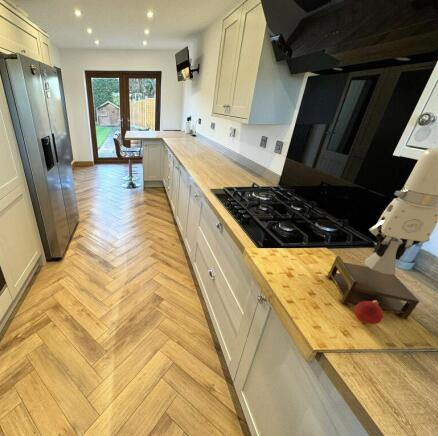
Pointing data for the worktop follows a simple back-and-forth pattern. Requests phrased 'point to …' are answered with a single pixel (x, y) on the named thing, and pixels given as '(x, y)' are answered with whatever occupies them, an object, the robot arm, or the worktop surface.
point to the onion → (369, 312)
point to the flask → (385, 258)
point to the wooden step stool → (371, 287)
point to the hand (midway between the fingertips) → (386, 255)
